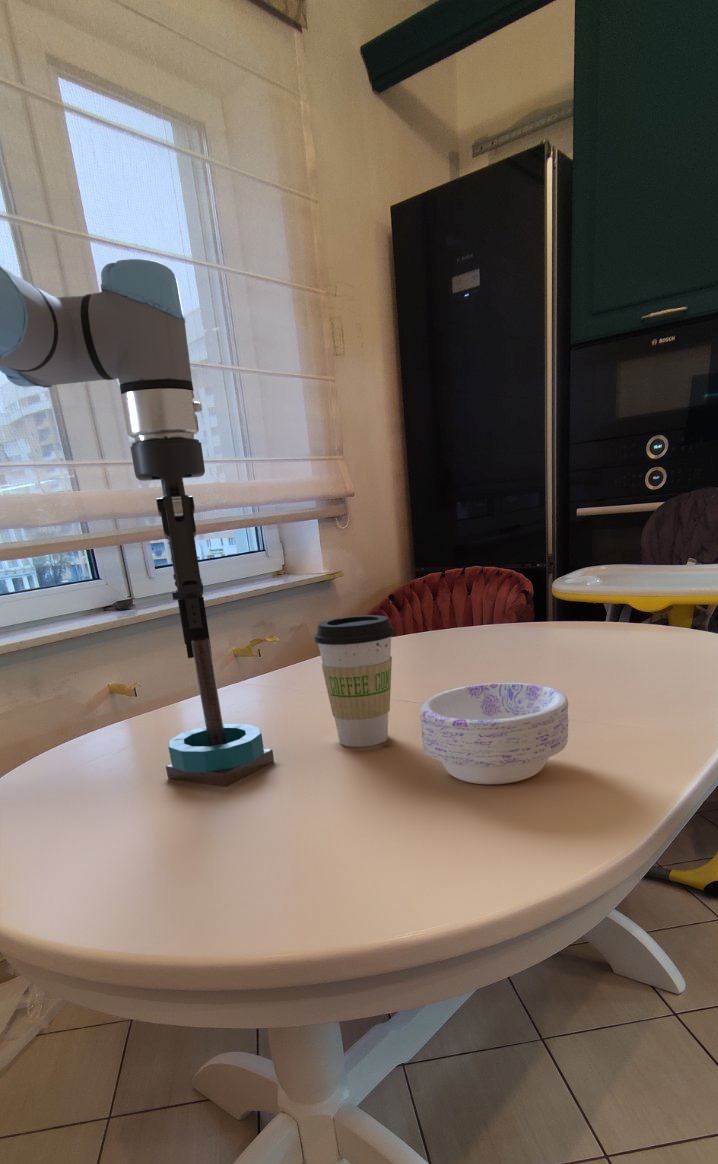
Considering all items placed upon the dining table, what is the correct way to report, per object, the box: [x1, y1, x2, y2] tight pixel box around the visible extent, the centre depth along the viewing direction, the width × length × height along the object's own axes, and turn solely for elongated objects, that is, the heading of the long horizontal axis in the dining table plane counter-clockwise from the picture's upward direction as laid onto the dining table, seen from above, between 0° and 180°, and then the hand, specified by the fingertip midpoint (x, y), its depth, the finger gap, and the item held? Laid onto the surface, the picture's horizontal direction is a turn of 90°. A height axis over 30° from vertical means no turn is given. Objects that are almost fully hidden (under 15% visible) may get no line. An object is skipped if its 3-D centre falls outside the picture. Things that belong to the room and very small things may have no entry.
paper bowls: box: [419, 682, 569, 785], centre depth 77 cm, size 15×15×8 cm
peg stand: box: [165, 637, 275, 787], centre depth 84 cm, size 9×9×16 cm
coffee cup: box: [313, 614, 396, 748], centre depth 90 cm, size 10×10×15 cm
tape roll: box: [168, 723, 265, 772], centre depth 86 cm, size 11×11×2 cm
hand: (197, 648), depth 87 cm, fingers open, 8 cm apart
